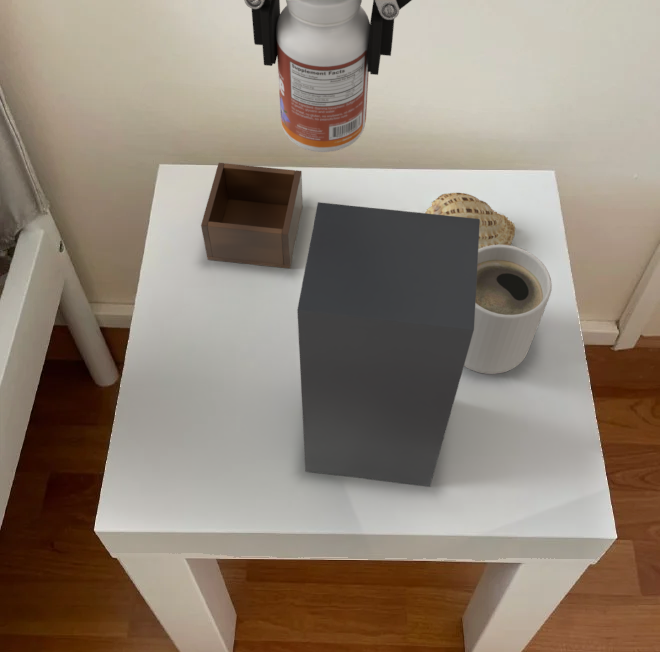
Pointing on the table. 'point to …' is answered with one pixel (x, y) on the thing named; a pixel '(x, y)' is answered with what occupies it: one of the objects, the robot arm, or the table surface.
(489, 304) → the mug
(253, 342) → the table surface
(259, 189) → the wooden box
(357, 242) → the block
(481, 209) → the seashell
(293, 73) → the pill bottle
